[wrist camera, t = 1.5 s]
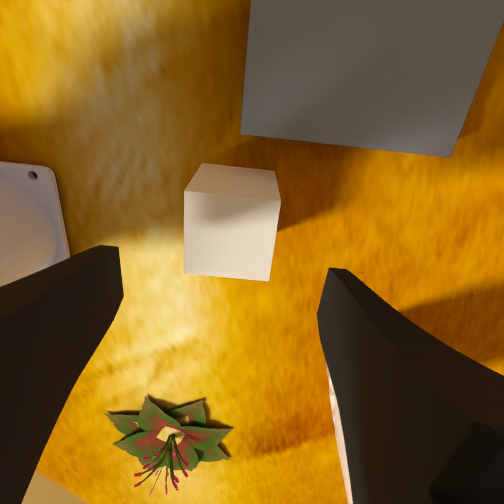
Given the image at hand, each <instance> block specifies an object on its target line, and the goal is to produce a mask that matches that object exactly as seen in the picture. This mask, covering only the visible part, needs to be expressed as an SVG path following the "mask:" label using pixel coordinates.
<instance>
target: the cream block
mask: <svg viewBox="0 0 504 504" xmlns="http://www.w3.org/2000/svg"><path fill="white" fill-rule="evenodd" d="M280 205H281V198H280V193H279V188H278V184H277V179H276V174H275V171H272V170H263V169H254V168H244V167H235V166H226V165H217V164H207V163H202V164H201V165H200V167H199V169H198V170H197V172H196V173H195V175H194V176H193V178H192V179H191V181H190V182H189V184H188V186H187V187H186V189H185V190H184V273H185V274H196V275H207V276H218V277H228V278H239V279H250V280H261V281H269V276H270V270H271V263H272V257H273V250H274V244H275V237H276V231H277V224H278V218H279V211H280Z"/></svg>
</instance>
